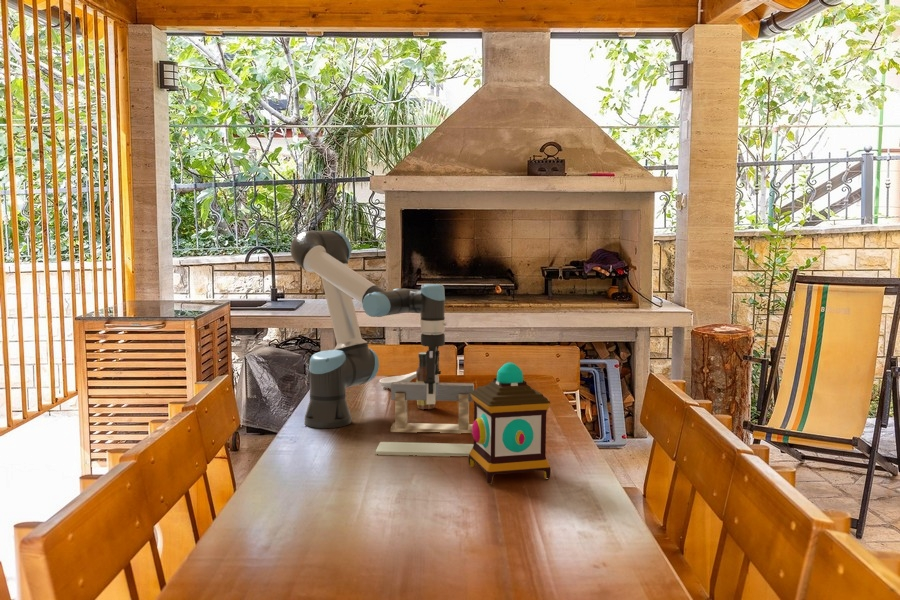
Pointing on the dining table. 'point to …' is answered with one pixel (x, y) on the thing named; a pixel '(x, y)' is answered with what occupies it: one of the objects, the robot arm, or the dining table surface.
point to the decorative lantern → (509, 426)
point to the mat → (423, 449)
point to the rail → (441, 390)
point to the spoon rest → (397, 379)
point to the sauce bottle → (422, 379)
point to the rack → (403, 426)
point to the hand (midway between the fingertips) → (432, 399)
